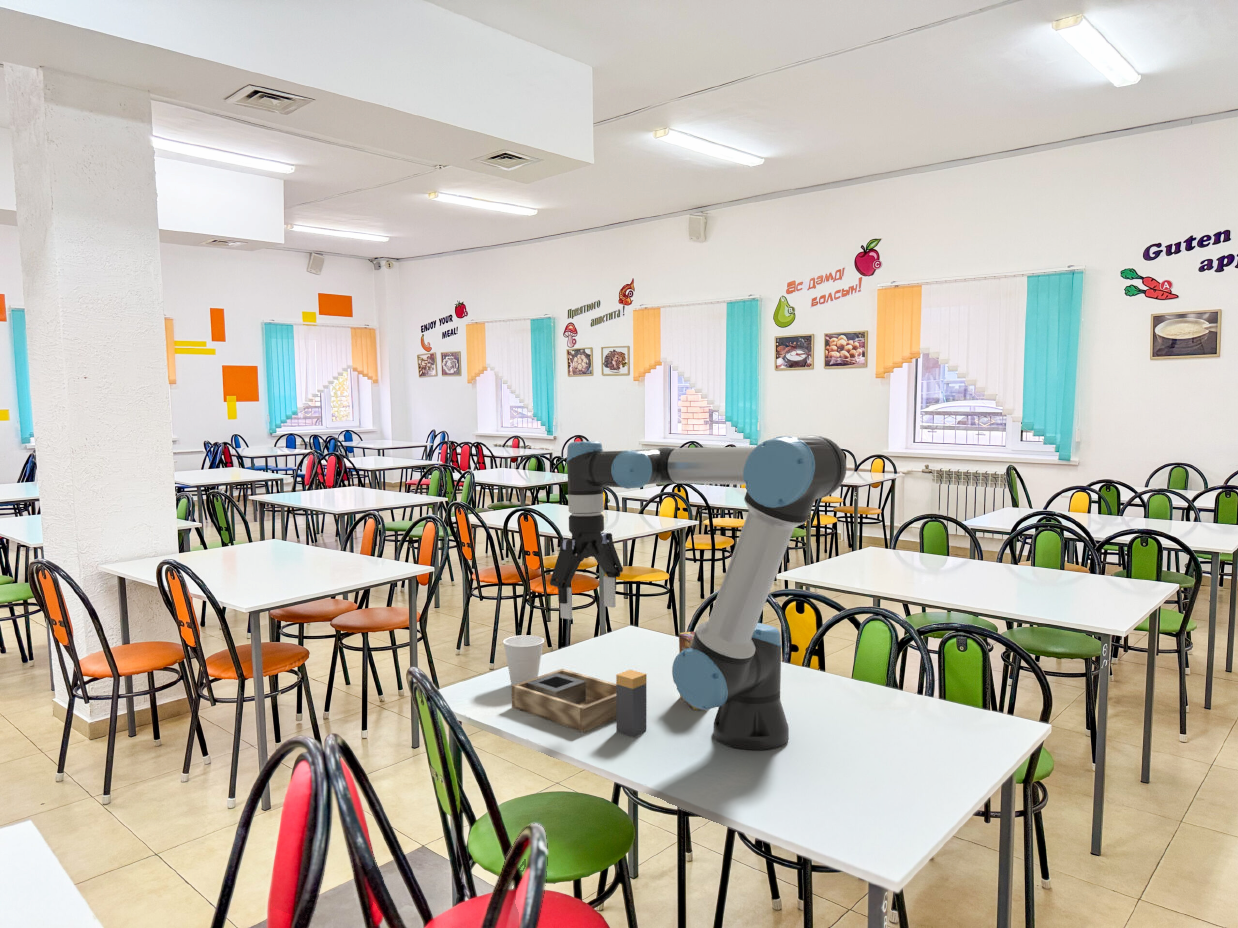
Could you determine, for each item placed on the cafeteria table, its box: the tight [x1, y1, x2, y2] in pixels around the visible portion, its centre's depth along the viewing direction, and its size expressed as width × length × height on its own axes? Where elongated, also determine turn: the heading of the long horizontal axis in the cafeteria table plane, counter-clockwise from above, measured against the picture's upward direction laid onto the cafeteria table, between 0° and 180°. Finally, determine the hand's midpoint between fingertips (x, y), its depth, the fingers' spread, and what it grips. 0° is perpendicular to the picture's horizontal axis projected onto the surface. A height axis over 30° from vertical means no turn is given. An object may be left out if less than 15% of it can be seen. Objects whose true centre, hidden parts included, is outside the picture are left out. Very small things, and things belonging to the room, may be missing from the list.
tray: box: [511, 668, 616, 733], centre depth 188 cm, size 22×16×5 cm
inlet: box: [527, 673, 586, 704], centre depth 191 cm, size 9×9×4 cm
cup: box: [502, 634, 545, 686], centre depth 204 cm, size 10×10×11 cm
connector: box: [615, 669, 647, 738], centre depth 175 cm, size 4×4×12 cm
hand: (588, 612), depth 182 cm, fingers open, 13 cm apart
